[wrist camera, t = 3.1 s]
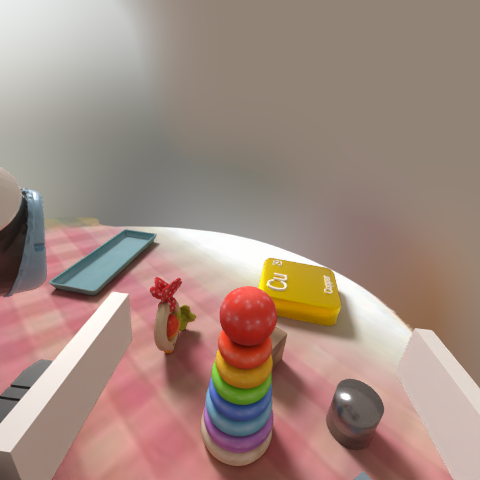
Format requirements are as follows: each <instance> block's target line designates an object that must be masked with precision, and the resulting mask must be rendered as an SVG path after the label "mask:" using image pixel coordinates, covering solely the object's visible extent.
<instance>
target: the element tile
mask: <svg viewBox="0 0 480 480" xmlns="http://www.w3.org/2000/svg"><path fill="white" fill-rule="evenodd" d="M258 288H259V289H261V290H263V291H264V292H266V293H267V294H268V295H269V296H270V297H271V299H272V300H273V302H274V304H275V306H276V310H277V316H281V317H286V318H291V319H296V320H301V321H306V322H310V323H315V324H320V325H325V326H333V325H335V324H336V321H337V318H338V315H339V312H340V309H341V301H340V297H339V292H338V288H337V284H336V280H335V276H334V273H333V272H332V271H331V270H330V269H328V268H324V267H318V266H313V265H307V264H302V263H296V262H291V261H285V260H280V259H274V258H268V259H267V260H265V262H264V266H263V271H262V275H261V279H260V283H259V287H258Z"/></svg>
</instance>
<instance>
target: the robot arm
mask: <svg viewBox="0 0 480 480" xmlns="http://www.w3.org/2000/svg"><path fill="white" fill-rule="evenodd" d="M46 277H47V264H46V248H45V228H44V214H43V202H42V196H41V194H40V193H39V192H37V191H33V190H28V189H20V187H19V185H18V183H17V181H16V179H15V178H14V177H13V176H12V175H11V174H10V173H9V172H8V171H6V170H5V169H3V168H1V167H0V296H3V297H9V296H12V295H13V294H15V293H20V292H24V291H29V290H33V289H36V288H38V287H40V286H41V285H42V284H43V283H44V282H45V280H46ZM131 341H132V329H131V316H130V303H129V294H126V293H118V292H112V293H111V294H110V295H109V297H108V298H107V299H106V300H105V301H104V302H103V304H102V305H101V306H100V307H99V308H98V309H97V311H96V312H95V313H94V314H93V315H92V316H91V318H90V319H89V320H88V321H87V322H86V324H85V325H84V326H83V327H82V328H81V329H80V331H79V332H78V333H77V334H76V335H75V336H74V338H73V339H72V340H71V341H70V342H69V343H68V345H67V346H66V347H65V348H64V349H63V351H62V352H61V353H60V354H59V355H58V356H57V358H56V359H55V360H54V361H50V360H42V359H40V360H39V361H37V362H36V363H34V364H33V365H31V366H30V367H28V368H27V369H25V370H24V371H23V372H22V373H21V374H20V375H19V376H18V377H17V378H16V379H15V381H14V382H13V383H12V384H11V386H10V387H8V388H7V389H6V390H5V391H4V392H3V393H2V394H1V395H0V480H52V478H53V476H54V475H55V473H56V471H57V469H58V468H59V466H60V464H61V462H62V461H63V459H64V457H65V456H66V454H67V452H68V450H69V449H70V447H71V445H72V443H73V442H74V440H75V438H76V436H77V435H78V433H79V431H80V430H81V428H82V426H83V424H84V423H85V421H86V419H87V417H88V416H89V414H90V412H91V410H92V409H93V407H94V405H95V404H96V402H97V400H98V398H99V397H100V395H101V393H102V391H103V390H104V388H105V386H106V384H107V383H108V381H109V379H110V378H111V376H112V374H113V372H114V371H115V369H116V367H117V365H118V364H119V362H120V360H121V358H122V357H123V355H124V353H125V351H126V350H127V348H128V346H129V345H130V343H131ZM395 373H396V374H397V376H398V378H399V380H400V382H401V384H402V386H403V387H404V389H405V391H406V393H407V395H408V397H409V399H410V400H411V402H412V404H413V406H414V408H415V410H416V412H417V413H418V415H419V417H420V419H421V421H422V423H423V424H424V426H425V428H426V430H427V432H428V434H429V436H430V437H431V439H432V441H433V443H434V445H435V447H436V449H437V450H438V452H439V454H440V456H441V458H442V460H443V462H444V463H445V465H446V467H447V469H448V471H449V473H450V475H451V476H452V478H453V480H480V388H479V387H478V386H477V385H476V383H475V382H474V381H473V380H472V378H471V377H470V376H469V375H468V374H467V372H466V371H465V370H464V369H463V367H462V366H461V365H460V364H459V363H458V361H457V360H456V359H455V358H454V357H453V355H452V354H451V353H450V352H449V350H448V349H447V348H446V347H445V346H444V344H443V343H442V342H441V341H440V339H439V338H438V337H437V336H436V335H435V333H434V332H433V331H432V330H425V329H416V328H415V329H414V332H413V334H412V336H411V338H410V340H409V343H408V345H407V347H406V349H405V352H404V354H403V356H402V358H401V360H400V363H399V365H398V367H397V369H396V372H395Z"/></svg>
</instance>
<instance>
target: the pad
mask: <svg viewBox="0 0 480 480" xmlns="http://www.w3.org/2000/svg"><path fill="white" fill-rule="evenodd" d="M354 480H371V479H370V478H369V477H368V475H367V474H366V473H365V472H364V471H363V472H361V473H360V474H359V475H358V476H357V477H356V478H355V479H354Z"/></svg>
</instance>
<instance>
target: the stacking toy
mask: <svg viewBox="0 0 480 480" xmlns="http://www.w3.org/2000/svg"><path fill="white" fill-rule="evenodd" d="M276 322H277V310H276V306H275V304H274V302H273V300H272V299H271V297H270V296H269V295H268V294H267V293H266V292H264V291H263V290H261V289H259V288H256V287H251V286H245V287H240V288H237V289H235V290H233V291H232V292H230V293H229V294H228V295H227V296H226V298H225V299H224V301H223V303H222V305H221V308H220V323H221V326H222V329H223V330H222V332H221V334H220V336H219V339H218V348H219V349H218V351H217V354H216V359H215V362H214V364H213V367H212V376H211V379H210V383H209V388H208V390H207V393H206V403H205V407H204V411H203V414H202V417H201V434H202V438H203V441H204V444H205V446H206V447H207V449H208V450H209V452H210V453H211V454H212V455H213V456H214V457H215V458H217V459H218V460H219V461H221V462H223V463H225V464H228V465H232V466H243V465H247V464H250V463H252V462H254V461H256V460H257V459H258V458H260V457H261V456H262V455H263V454H264V452H265V451H266V450H267V448H268V446H269V444H270V441H271V437H272V425H273V410H272V384H271V381H272V374H271V371H272V366H273V361H272V356H271V352H272V340H271V337H270V335H271V334H272V332H273V331H274V329H275V326H276Z"/></svg>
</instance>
